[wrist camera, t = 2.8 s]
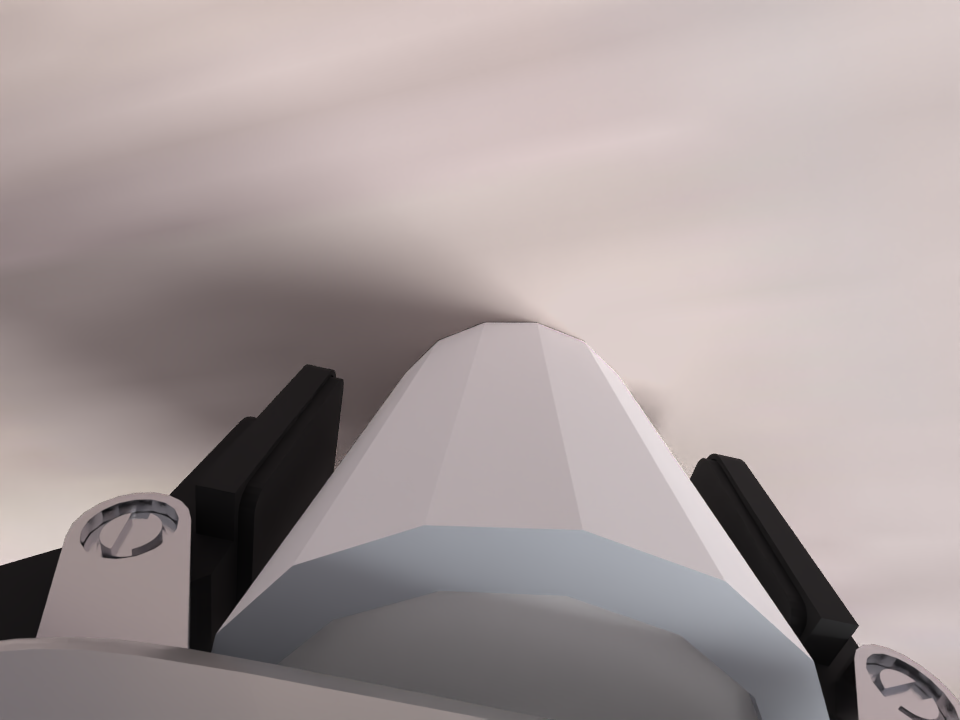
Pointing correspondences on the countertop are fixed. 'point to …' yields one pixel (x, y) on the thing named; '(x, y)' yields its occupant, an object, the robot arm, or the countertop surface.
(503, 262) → the countertop surface
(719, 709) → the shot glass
